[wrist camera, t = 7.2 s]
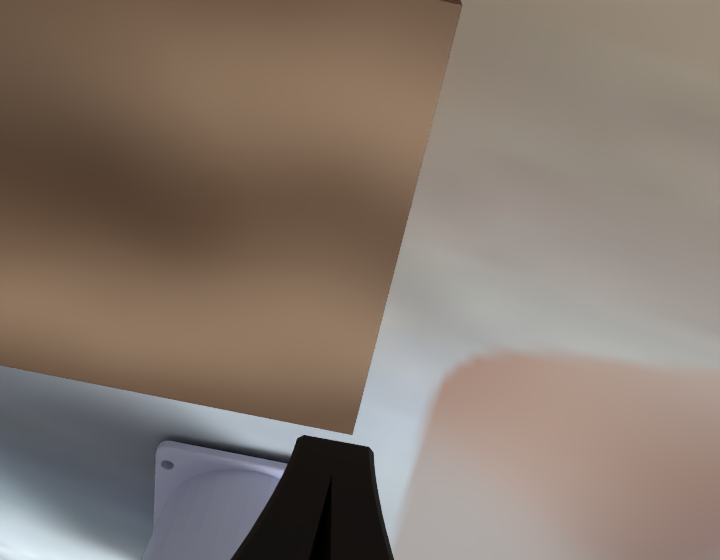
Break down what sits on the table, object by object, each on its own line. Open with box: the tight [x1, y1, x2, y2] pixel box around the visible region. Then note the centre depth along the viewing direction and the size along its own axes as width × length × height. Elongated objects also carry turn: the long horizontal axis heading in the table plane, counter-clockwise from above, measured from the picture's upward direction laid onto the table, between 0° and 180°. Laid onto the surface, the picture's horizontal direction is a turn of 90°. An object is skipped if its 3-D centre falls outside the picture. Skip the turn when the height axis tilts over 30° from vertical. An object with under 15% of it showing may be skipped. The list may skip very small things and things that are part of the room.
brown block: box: [0, 0, 462, 435], centre depth 17 cm, size 12×13×4 cm
